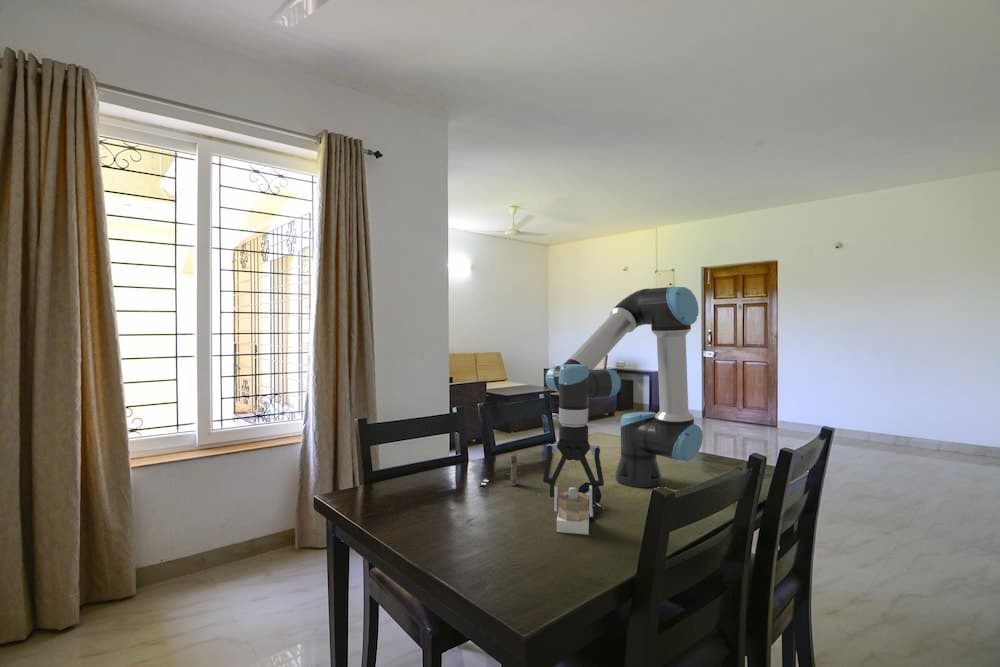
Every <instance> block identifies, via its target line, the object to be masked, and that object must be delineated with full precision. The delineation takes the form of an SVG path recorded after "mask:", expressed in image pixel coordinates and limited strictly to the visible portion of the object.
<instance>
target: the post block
mask: <svg viewBox="0 0 1000 667" xmlns="http://www.w3.org/2000/svg"><path fill="white" fill-rule="evenodd" d="M578 490H579V488H577V487H575V486H574V487H573V486H572V487H569V488H568V491H569V499H575V500H577V499H578ZM589 518H590V515H589V511H588V519H586V520H583V521H580V522H576V521H566V520H564V519H562V518H560V517H558V515H557V517H556V533H563V534H577V535H587V536H588V535H589V534H590V533H589V530H590V528H589V527H590V520H589Z"/></svg>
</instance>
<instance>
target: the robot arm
mask: <svg viewBox="0 0 1000 667" xmlns="http://www.w3.org/2000/svg"><path fill="white" fill-rule="evenodd" d="M698 303H699V302H698V300H697V298H696V296H695V294H694V292H693V291H692V290H691V289H690V288H688V287H685V286H666V287H655V288H654V287H653V288H642V289H639V290H635V291H634V292H633V293H631V294H629V295H628V296H626V297H625V298H624V299H622V300H621V301H619V302H618V303H617V304H616V305H615V306H614V307H613V308H612V309H611V310H610V312H609V317H607V319H606V320H605V321H604V322H603V323H602V324H601V325H600V326H599V327H598V328H597V329H596V330H595V331H594V332H593V333H592V334H591V335H590V336H589V337H588V338H587V340H585V341H584V343H583V344H581V345H580V346H579V348H578V349H576V351H575V352H574V353H573V354H572V355H571V356H570V357H569V358H568V359H567V360H566V361H565V362H564V363H563V364H562V365H555V366H554V365H553V366H552V367H550V368H549V369H548V370H547V372H546V374H545V382H546V385H547V388H548V389H550V390H551V391H554V392H557V393H558V398H559V399H558V400H559V401H558V403H559V406H558V422H559V423H560V424H559V425H558V442H557V443H553V444H552V443H548V444H547V446H546V451H547V457H546V463H545V469H544V473H543V479H542V482H543V483H544V484H548V485H549V496H550V498H553V500H554V501H553V507H554V508H553V511H554V512H558V497H559V483H557V480H558V478H559V475H560V473H561V472H562V470H563V467H564V465H565V463H566V461H578V462H580V463H581V466H582V467H583V470H584V472H585V474H586V476H587V478H588V481H589V483H591V485H589V514H592V500H596V499H597V487H598V488H600V487H604V484H605V483H604V482H605V481H604V480H605V479H604V475H603V470H602V465H601V459H600V454H601V447H600V445H596V446H594V445H590V442H589V426H588V425H587V424H588V423H589V400H592V399H593V400H594V399H595V400H596V399H604V398H605V399H607V398H610V397H614V396H616V395H617V394H618V393H619V392H620V389H621V388H622V387H621V385H622V383H621V382H622V381H621V378H620V376H619V374H618V373H617V371H615V370H614V369H613V370H612V369H605V368H602V369H595V368H596V367H598V365H599V364H600V363H601V362H602V360H604V358H605V357H606V356H607V355H608V354H609V353H610V352H611V350H613V348H614V347H615V346H616V345H617V344H618V343H619V342H620V341H621V340H622V339H624V336H626V335H627V334H628V333H632V332H633V331H635V330H636V328H638V327H640V326H645V325H649V326H650V325H651V332H652V333H653V334H654V335H655V336H656V349H657V352H656V354H657V377H658V378H657V379H658V402H659V411H658V412H657V413H656V412H654V411H639V412H637V411H636V412H628V413H624V414H623V415H622V416H621V418H620V419H621V420H620V426H619V427H620V459H619V461H618V464H617V466H616V469H615V473H614V474H615V481H617V483H619V484H622V485H624V486H628V487H634V488H654V487H658V485H659V486H661V485H662V483H663V478H662V473H661V470H660V467H659V464H658V460H657V456H661V457H664V458H669V459H671V460H672V459H673V460H675V461H681V462H682V461H683V462H689V461H691V460H693V459H694V458H696V456H697V455H698V453H699V452H700V450H701V447H702V444H703V439H704V437H703V430H702V429H701V427H700V425H697V424H695V420H694V419H695V417H694V415H693V414H692V413H691V412H690V411H689V393H688V391H689V390H688V368H687V367H688V363H687V362H688V361H687V334H688V333H689V332H690V331H691V328H692V327H691V326H692V325H693V324H695V323H696V321H697V319H698V316H699V309H700V308H699V304H698ZM556 450H558V451H559V452H560V454H561V457H560V460H559V462H558V464H557V466H556V468H555V470H554V472H553V474H552V476H551V477H550V473H551V467H552V462H553V457H554V454H555V453H556ZM589 451H590V452H591V455H593V457H594V458H593V459H594V464H595V470H596V474H597V480H596V478H595V475H594V474H593V471H592V469H591V467H590V465H589V462H588V461H587V457H586V455H587V454H588V452H589ZM652 486H654V487H652Z"/></svg>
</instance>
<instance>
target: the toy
mask: <svg viewBox="0 0 1000 667" xmlns="http://www.w3.org/2000/svg"><path fill="white" fill-rule="evenodd" d="M589 485H591V483H590V482H584V483H583V484H581V485H580V486H579V488H578V492H581V493H584V494H586V495H588V511H589ZM601 499H602V493H601V489H600V487H597V499H596V500H592V514H589V523H593V521H594V514H595V513H596V507H597V506H598V507H600V508H601V509H602V510H604V509H605V507H604V506H603V505H601V504H600V503H601Z"/></svg>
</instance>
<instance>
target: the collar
mask: <svg viewBox="0 0 1000 667" xmlns="http://www.w3.org/2000/svg"><path fill="white" fill-rule="evenodd" d="M557 516H558V517H560V518H562V519H564V520H566V521H576V522H580V521H583V520H586V519H588V495H586V494H584V493H581V492H578V499H577V500H575V499H569V490H568V491H562V492H560V493H559V492H558V509H557Z"/></svg>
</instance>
